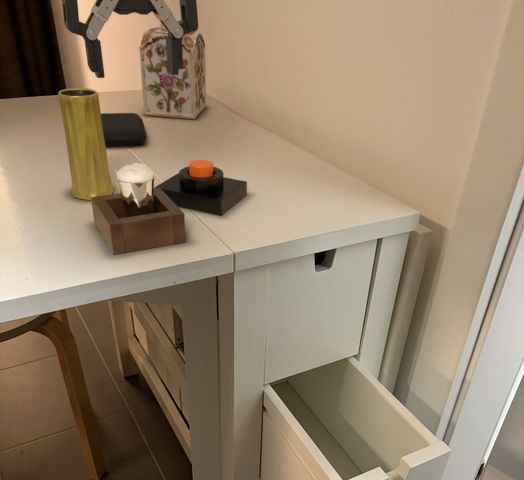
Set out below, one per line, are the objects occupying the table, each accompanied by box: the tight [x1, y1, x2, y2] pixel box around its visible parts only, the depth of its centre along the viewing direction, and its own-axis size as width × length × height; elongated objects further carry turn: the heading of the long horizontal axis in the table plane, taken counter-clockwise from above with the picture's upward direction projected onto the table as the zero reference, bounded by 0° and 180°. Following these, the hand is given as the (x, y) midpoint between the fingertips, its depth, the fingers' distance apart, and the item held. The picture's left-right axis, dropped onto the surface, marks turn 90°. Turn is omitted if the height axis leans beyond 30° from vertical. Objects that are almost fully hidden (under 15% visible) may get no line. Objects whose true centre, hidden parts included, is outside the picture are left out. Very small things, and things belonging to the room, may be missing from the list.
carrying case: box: [101, 112, 148, 147], centre depth 107 cm, size 11×3×15 cm
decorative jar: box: [138, 18, 207, 120], centre depth 120 cm, size 12×12×18 cm
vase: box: [58, 87, 114, 201], centre depth 80 cm, size 6×6×14 cm
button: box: [188, 159, 214, 178], centre depth 82 cm, size 4×4×2 cm
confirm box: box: [154, 166, 248, 216], centre depth 83 cm, size 11×9×4 cm
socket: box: [90, 188, 186, 256], centre depth 72 cm, size 10×10×4 cm
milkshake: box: [108, 156, 155, 218], centre depth 70 cm, size 5×5×10 cm
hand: (137, 75), depth 64 cm, fingers open, 8 cm apart
